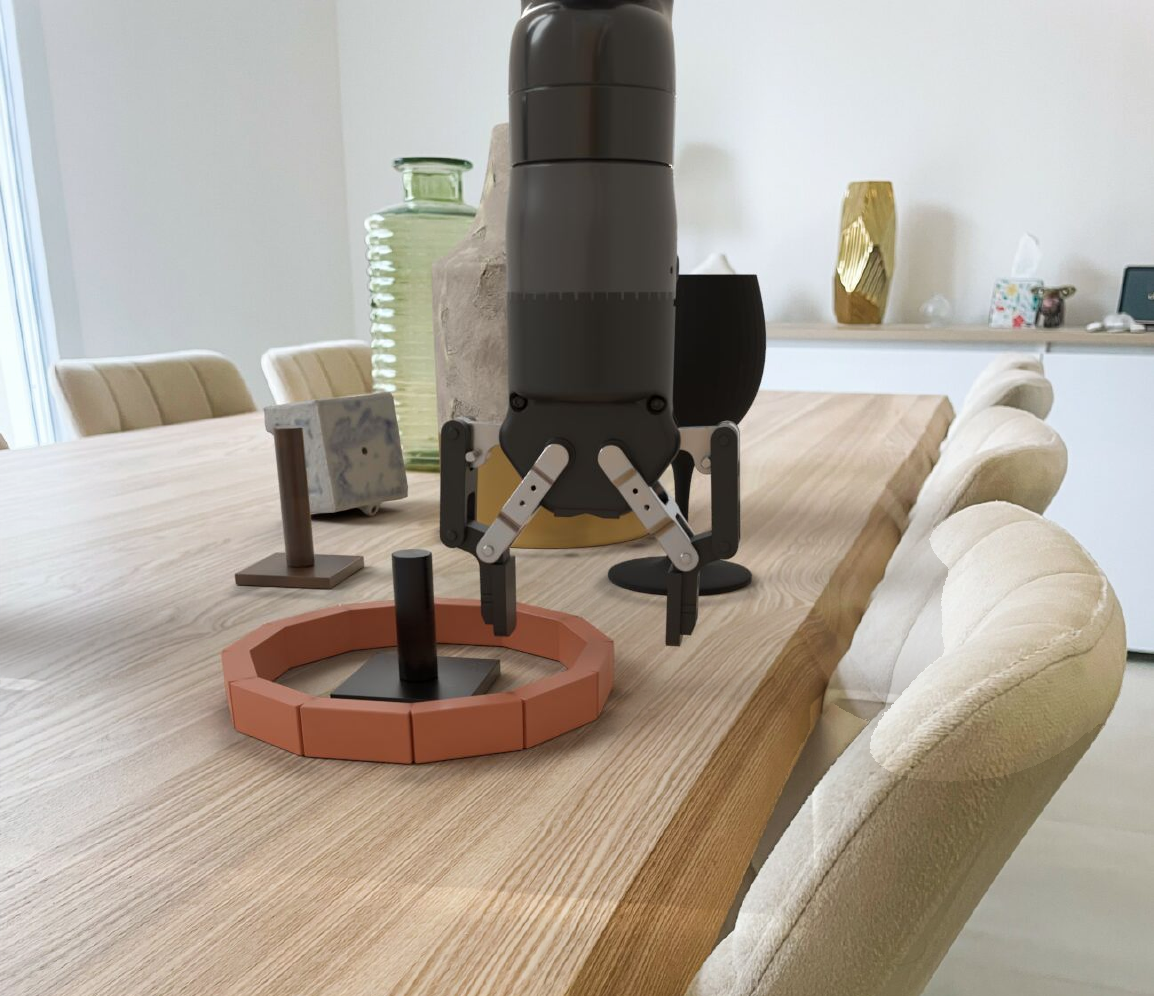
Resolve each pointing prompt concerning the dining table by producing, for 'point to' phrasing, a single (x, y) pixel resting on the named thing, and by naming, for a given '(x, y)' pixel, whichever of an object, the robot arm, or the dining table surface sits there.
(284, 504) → the walnut post
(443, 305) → the vase
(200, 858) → the dining table surface
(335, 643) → the ring
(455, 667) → the metal post
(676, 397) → the wine glass
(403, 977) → the dining table surface
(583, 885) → the dining table surface
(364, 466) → the incense holder
